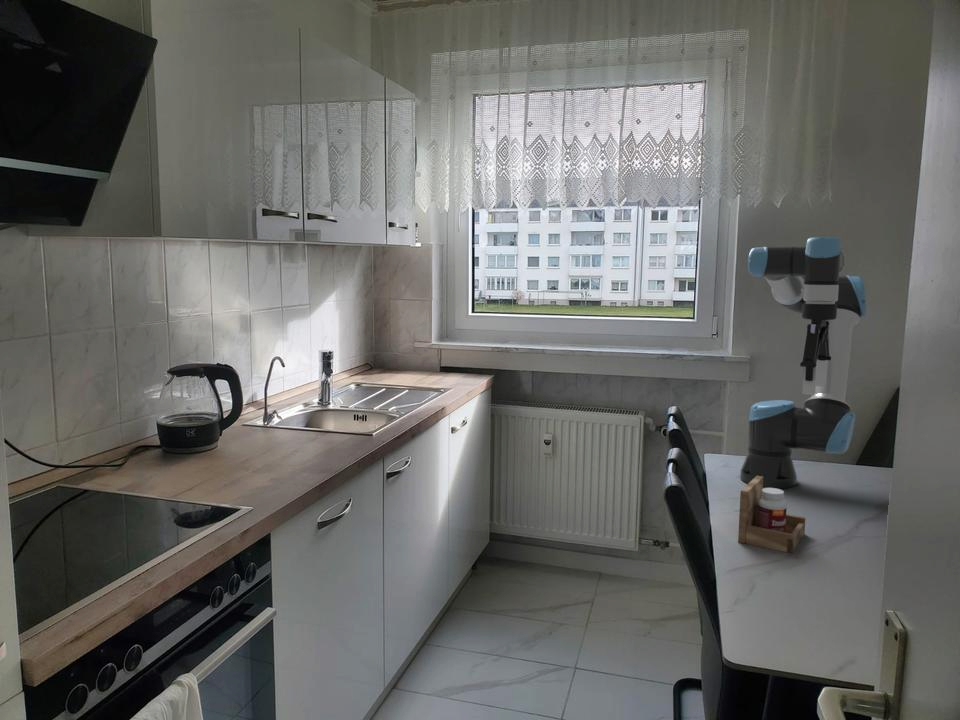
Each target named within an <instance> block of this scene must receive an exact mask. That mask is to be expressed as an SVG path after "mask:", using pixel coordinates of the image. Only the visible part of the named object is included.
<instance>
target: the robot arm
mask: <svg viewBox="0 0 960 720" xmlns="http://www.w3.org/2000/svg"><path fill="white" fill-rule="evenodd" d="M844 266H845V256H844V253H843V252H842V240H841V238H839V237H837V236H819V237H816V236H815V237H814V236H813V237H809V238H808V239H807V241H806V245H805V246H762V247H761V246H760V247H753V248H751V250H749V254H748V261H747V269H748V270H747V271H748V273H749V275H750V276H752V277H759V278H762V277H764V279H765V280H766V282H767V283H768V285H769V286H770V288H771V294H772V297H773V299H774V300H775V301H776V302H777V304H779V305H780V306H782V307H784V308H786V309H787V310H790V311H792V312H795V313H797V314H801V318H802V319H804V320H810V321H811V322H810V324H809V323H808V324H807V326H806V328H807V329H806V339H805V343H804V350H803V356H802V357H803V358H802V362H800V365H799V366H800V367H802V368H803V379H802V392H801V393H802V395H811V396H810V397H808V399H806V400H805V401H804V404H803V407H797V406H796V404H795V402H794V401H792V400H786V399H780V400H779V399H777V400H776V399H774V400H765V401H764V400H763V401H758V402H756V403H754V404H753V405H752V406H751V407H750V410H749V411H750V412H749V418H748V421H749V422H748V423H749V424H748V445H747V446H748V447H747V454H746V456H745V459H744V460H743V461H744V462H743V464H742V466H741V469H740V476H739V479H740V480H741V481H742V482H744V483H746V484H748V483H749V482H750V481H752V480H753V479H754V478H755V477H756V476H762V477H763V488H776V489H788V488H792V487H795V486H796V485H797V484H798V483H797V482H798V475H797V471H796V469H795V465H794V462H793V461H794V460H793V458H792V455H793V454H792V449H796V450H800V451H801V450H802V451H811V452H818V453H825V454H838V455H840V454H844V453H846V452H847V450H848V449H849V447H850V444H851V440H852V436H853V433H854V429H855V428H854V427H855V423H856V413H854V412H853V411H851V405H850V404H849V403H848V402H847V401H846V394H847V388H848V387H847V385H848V376H849V367H850V360H851V359H850V358H851V349H852V348H851V347H852V339H853V329H854V326H856V325H858V324H859V323H860V321H861V320H860V319H861V318H863V317H866V315H867V303H866V287H865V280H864V278H863V277H861V276H859V275H858V276H855V275H853V276H852V275H840V272H842V270H843V267H844Z"/></svg>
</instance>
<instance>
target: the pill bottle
mask: <svg viewBox="0 0 960 720" xmlns="http://www.w3.org/2000/svg"><path fill="white" fill-rule="evenodd" d="M784 497H785V491H784V490H782V489H781V488H766V487H763V489H762V498H760V499H759V500H758V508H757V524H756V527H761V528H766V529H771V530H776V531H781V532H785V525H786V514H787V509H788V507H787V505H788V504H787V502H786V501H785V500H784Z"/></svg>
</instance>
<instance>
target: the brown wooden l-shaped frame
mask: <svg viewBox="0 0 960 720" xmlns="http://www.w3.org/2000/svg"><path fill="white" fill-rule="evenodd" d="M762 489H764V487H763V477H762V476H756V477H755V478H754V479H753V480H752V481H750V482H749V483H746V485H745V486H744V487H743V488H742V489H740V495H739V499H740V500H739V515H738V517H739V518H738V519H739V520H738V537H737V542H738V543H740V544H747V545H752V546H756V547H761V548H765V549H766V548H767V549H769V550H770V549H771V550H775V551H780V552H784V553H789V554H793V552H794V550H795V549H796V547H797V546H798V545H799V543H800V542H801V540H802V538H803V537H804V536H805V531H806V517H805V516H804V517H803V516H799V515H795V514H788V513H786V525H785V532H781V531H776V530H771V529H766V528H761V527H756V524H757V508H758V500H759V499H760V498H762V497H763V496H762Z"/></svg>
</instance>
